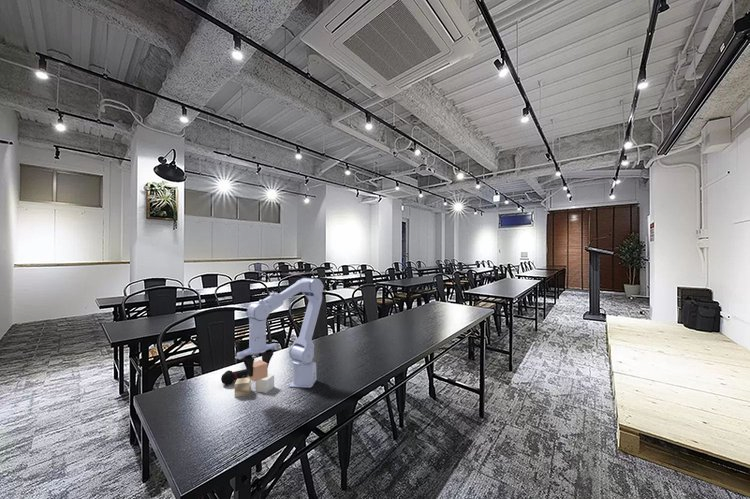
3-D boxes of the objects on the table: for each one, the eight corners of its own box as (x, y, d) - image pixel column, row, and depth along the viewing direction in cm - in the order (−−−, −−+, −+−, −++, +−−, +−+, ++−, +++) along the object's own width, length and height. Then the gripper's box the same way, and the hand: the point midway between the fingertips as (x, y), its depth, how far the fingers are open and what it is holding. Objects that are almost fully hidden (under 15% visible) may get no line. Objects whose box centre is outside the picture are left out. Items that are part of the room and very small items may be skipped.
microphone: (256, 375, 136) (218, 388, 117) (254, 362, 137) (217, 373, 119) (265, 373, 134) (228, 385, 116) (263, 360, 135) (226, 371, 117)
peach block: (260, 373, 108) (260, 360, 109) (267, 376, 105) (267, 363, 105) (247, 377, 105) (247, 364, 105) (254, 381, 101) (254, 367, 101)
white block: (274, 387, 117) (274, 374, 117) (266, 392, 112) (266, 380, 112) (263, 385, 118) (263, 373, 118) (255, 391, 113) (255, 378, 113)
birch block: (250, 389, 114) (250, 377, 115) (248, 395, 110) (248, 382, 110) (237, 391, 113) (237, 378, 113) (234, 397, 108) (234, 384, 108)
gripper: (243, 343, 97) (243, 383, 97) (281, 333, 108) (281, 369, 108) (233, 339, 102) (233, 377, 101) (271, 330, 113) (271, 365, 112)
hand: (257, 373), depth 105 cm, fingers closed on peach block, 5 cm apart
